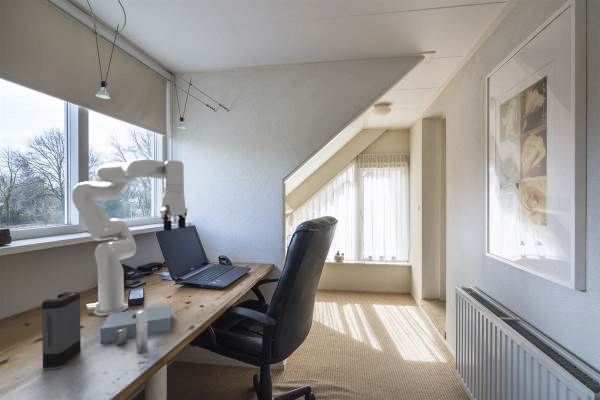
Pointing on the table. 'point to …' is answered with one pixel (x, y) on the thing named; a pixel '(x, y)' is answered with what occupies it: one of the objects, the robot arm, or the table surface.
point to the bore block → (155, 322)
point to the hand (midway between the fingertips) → (175, 229)
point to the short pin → (121, 337)
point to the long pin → (141, 331)
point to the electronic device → (61, 330)
